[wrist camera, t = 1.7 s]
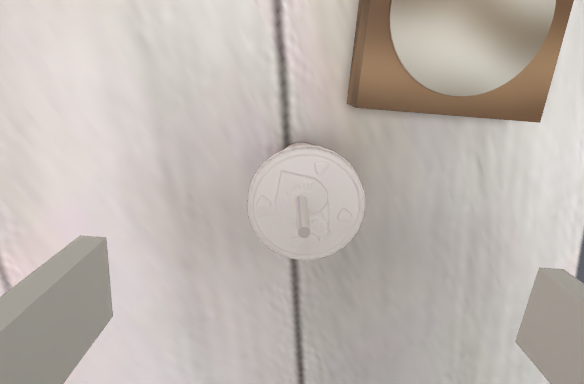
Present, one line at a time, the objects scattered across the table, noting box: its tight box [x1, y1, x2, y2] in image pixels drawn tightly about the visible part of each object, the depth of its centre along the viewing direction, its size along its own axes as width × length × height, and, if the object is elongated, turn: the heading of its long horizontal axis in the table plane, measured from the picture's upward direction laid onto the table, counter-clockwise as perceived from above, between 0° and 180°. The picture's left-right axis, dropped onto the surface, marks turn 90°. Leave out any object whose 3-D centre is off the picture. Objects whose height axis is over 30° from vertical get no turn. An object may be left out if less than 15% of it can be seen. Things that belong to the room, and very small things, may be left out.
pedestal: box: [347, 0, 574, 122], centre depth 23 cm, size 12×12×4 cm
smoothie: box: [247, 142, 365, 260], centre depth 22 cm, size 6×6×14 cm
